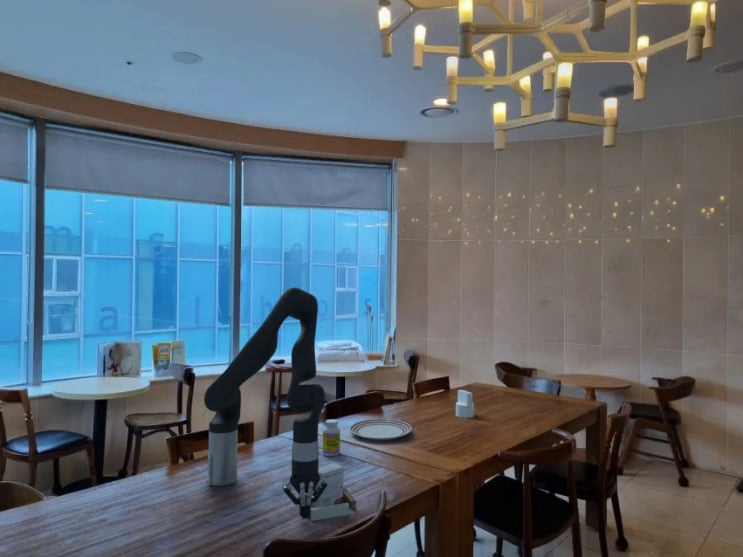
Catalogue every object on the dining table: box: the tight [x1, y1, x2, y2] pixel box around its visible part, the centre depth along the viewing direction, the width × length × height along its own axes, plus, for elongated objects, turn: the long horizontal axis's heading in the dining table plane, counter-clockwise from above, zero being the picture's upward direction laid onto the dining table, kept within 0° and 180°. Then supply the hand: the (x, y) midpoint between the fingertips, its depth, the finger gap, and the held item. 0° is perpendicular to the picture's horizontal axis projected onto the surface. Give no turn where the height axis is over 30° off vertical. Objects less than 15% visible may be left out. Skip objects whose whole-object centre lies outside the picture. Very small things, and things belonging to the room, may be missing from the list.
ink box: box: [311, 462, 344, 508], centre depth 154 cm, size 9×5×12 cm, turn 133°
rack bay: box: [308, 488, 357, 518], centre depth 156 cm, size 15×12×8 cm
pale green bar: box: [310, 502, 350, 522], centre depth 147 cm, size 11×1×3 cm, turn 111°
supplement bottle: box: [322, 418, 341, 457], centre depth 201 cm, size 7×7×13 cm
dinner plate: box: [349, 418, 412, 441], centre depth 228 cm, size 27×27×3 cm
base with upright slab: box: [455, 389, 475, 419], centre depth 260 cm, size 9×9×12 cm
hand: (304, 517), depth 145 cm, fingers closed
